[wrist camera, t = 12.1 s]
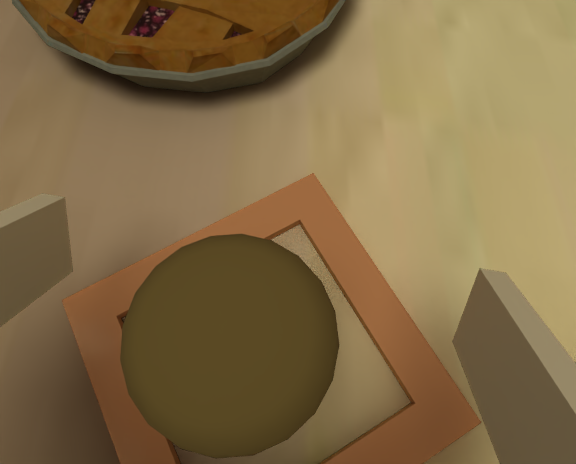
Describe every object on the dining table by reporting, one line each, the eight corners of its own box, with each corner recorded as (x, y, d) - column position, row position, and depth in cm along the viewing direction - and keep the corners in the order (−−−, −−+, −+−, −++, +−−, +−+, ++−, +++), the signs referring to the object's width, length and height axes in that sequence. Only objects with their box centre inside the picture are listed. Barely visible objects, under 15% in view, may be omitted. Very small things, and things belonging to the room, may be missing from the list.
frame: (68, 302, 19) (61, 300, 19) (312, 178, 22) (313, 173, 21) (184, 622, 15) (181, 631, 14) (475, 421, 17) (481, 422, 17)
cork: (229, 277, 20) (164, 162, 10) (342, 324, 19) (404, 252, 9) (170, 398, 18) (11, 414, 8) (294, 457, 17) (303, 563, 7)
